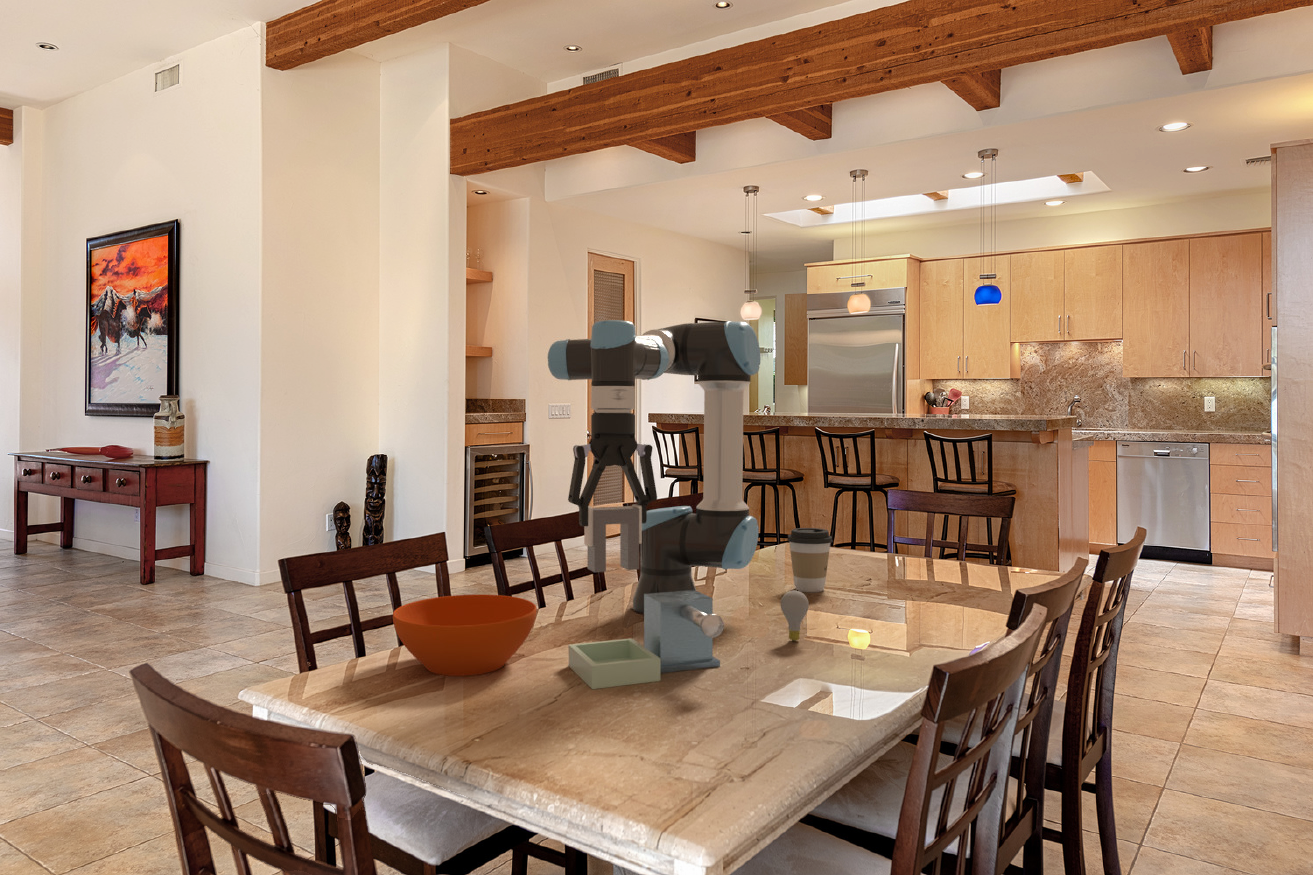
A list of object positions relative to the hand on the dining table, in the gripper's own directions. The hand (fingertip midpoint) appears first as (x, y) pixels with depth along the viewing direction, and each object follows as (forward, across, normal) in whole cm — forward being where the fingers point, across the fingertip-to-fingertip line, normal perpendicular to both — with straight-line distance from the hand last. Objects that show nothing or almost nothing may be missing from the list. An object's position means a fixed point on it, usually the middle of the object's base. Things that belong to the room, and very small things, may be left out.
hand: (613, 543), depth 153 cm
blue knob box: (+22, +13, -3) cm, 26 cm away
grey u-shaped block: (+4, 0, 0) cm, 4 cm away
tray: (+23, 0, 0) cm, 23 cm away
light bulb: (+23, +40, +7) cm, 47 cm away
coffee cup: (+23, +69, +49) cm, 88 cm away
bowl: (+23, -23, +15) cm, 36 cm away
